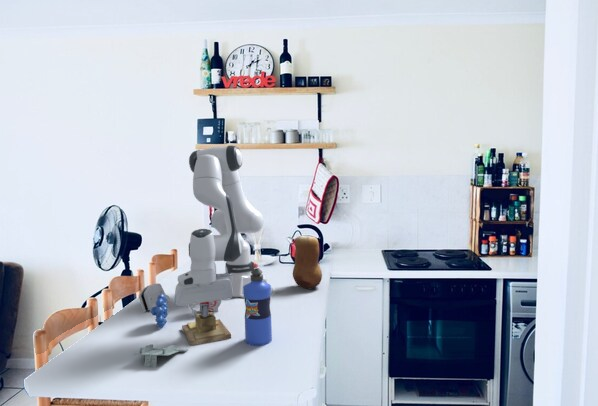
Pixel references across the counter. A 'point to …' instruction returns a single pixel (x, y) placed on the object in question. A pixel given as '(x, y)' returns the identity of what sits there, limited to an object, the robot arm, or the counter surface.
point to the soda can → (209, 305)
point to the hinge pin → (204, 311)
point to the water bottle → (257, 310)
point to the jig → (205, 330)
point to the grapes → (160, 311)
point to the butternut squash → (307, 262)
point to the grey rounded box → (151, 296)
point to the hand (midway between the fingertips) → (205, 313)
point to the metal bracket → (156, 353)
